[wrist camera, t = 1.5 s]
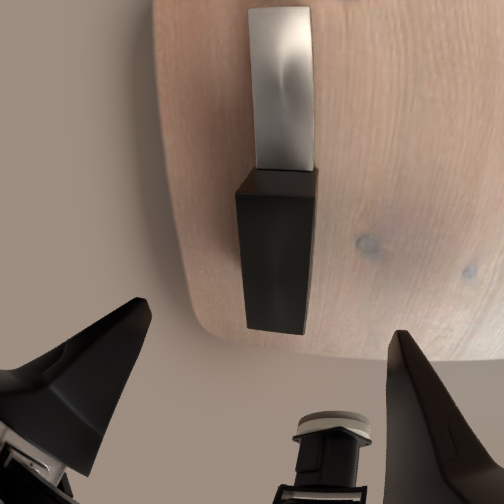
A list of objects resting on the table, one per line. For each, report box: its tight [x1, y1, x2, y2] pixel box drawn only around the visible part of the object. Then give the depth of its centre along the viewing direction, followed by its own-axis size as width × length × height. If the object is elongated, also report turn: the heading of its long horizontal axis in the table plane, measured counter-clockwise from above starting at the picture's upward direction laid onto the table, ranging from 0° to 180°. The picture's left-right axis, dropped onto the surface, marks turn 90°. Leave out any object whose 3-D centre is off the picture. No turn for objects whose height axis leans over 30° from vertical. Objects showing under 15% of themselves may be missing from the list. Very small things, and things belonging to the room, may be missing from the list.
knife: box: [235, 6, 318, 335], centre depth 11 cm, size 14×3×3 cm, turn 3°
